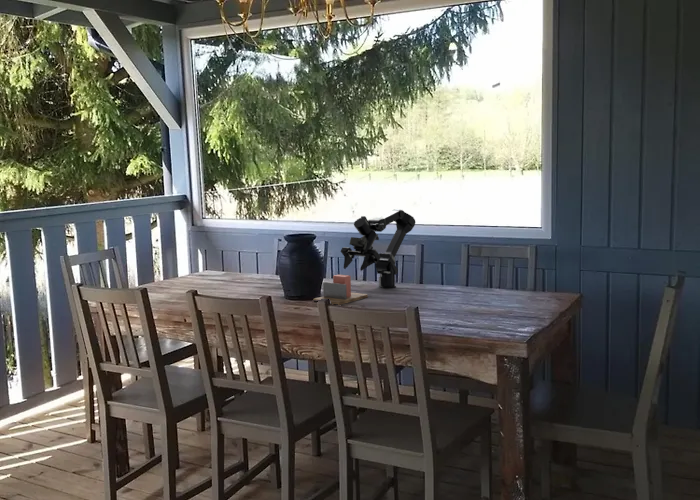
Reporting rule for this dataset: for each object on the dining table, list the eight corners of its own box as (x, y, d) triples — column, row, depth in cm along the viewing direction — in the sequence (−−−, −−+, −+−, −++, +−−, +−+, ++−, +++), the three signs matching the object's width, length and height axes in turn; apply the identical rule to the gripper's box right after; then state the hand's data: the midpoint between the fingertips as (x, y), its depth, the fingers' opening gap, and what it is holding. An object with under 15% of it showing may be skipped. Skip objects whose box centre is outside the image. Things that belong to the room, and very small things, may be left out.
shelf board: (342, 293, 315) (342, 291, 315) (367, 297, 307) (367, 294, 307) (313, 301, 300) (313, 298, 300) (338, 305, 291) (338, 302, 291)
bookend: (325, 296, 304) (324, 281, 303) (346, 299, 297) (346, 284, 296) (323, 296, 303) (323, 282, 302) (345, 299, 296) (344, 284, 295)
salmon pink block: (339, 294, 307) (338, 274, 306) (351, 296, 303) (350, 275, 302) (333, 296, 304) (333, 275, 303) (345, 297, 300) (344, 277, 299)
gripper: (342, 229, 316) (327, 256, 309) (376, 231, 305) (361, 259, 297) (353, 244, 323) (339, 271, 316) (386, 247, 312) (372, 275, 305)
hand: (352, 269), depth 308 cm, fingers open, 9 cm apart
